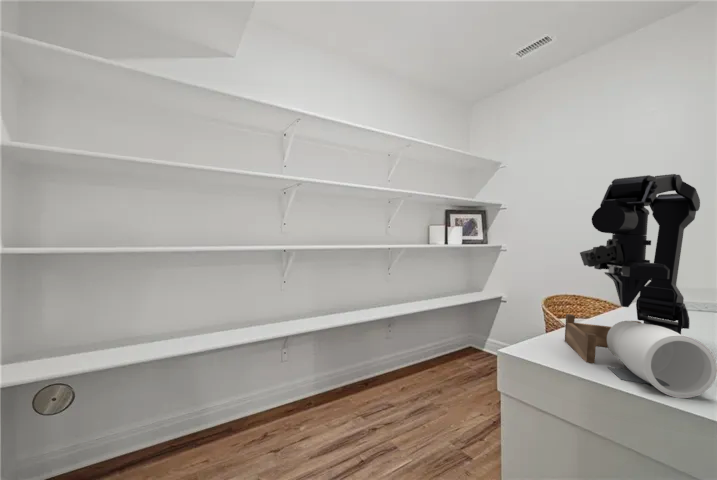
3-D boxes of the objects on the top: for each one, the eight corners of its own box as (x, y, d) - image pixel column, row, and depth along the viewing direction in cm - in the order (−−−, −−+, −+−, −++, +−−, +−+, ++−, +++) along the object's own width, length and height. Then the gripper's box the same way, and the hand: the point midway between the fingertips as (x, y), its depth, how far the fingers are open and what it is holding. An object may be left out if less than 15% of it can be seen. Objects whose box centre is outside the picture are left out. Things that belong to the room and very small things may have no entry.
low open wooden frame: (637, 349, 78) (638, 321, 78) (677, 375, 64) (679, 340, 64) (564, 340, 83) (566, 313, 83) (586, 362, 69) (588, 329, 68)
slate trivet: (655, 374, 64) (655, 373, 64) (674, 387, 58) (674, 386, 58) (607, 367, 66) (607, 366, 66) (621, 379, 60) (621, 378, 60)
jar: (653, 369, 68) (714, 404, 53) (597, 360, 70) (641, 391, 55) (659, 319, 67) (721, 340, 53) (602, 312, 70) (648, 331, 55)
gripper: (572, 234, 81) (568, 295, 81) (602, 232, 63) (598, 311, 63) (625, 236, 77) (621, 300, 78) (673, 235, 60) (668, 318, 60)
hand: (624, 306), depth 70 cm, fingers closed
